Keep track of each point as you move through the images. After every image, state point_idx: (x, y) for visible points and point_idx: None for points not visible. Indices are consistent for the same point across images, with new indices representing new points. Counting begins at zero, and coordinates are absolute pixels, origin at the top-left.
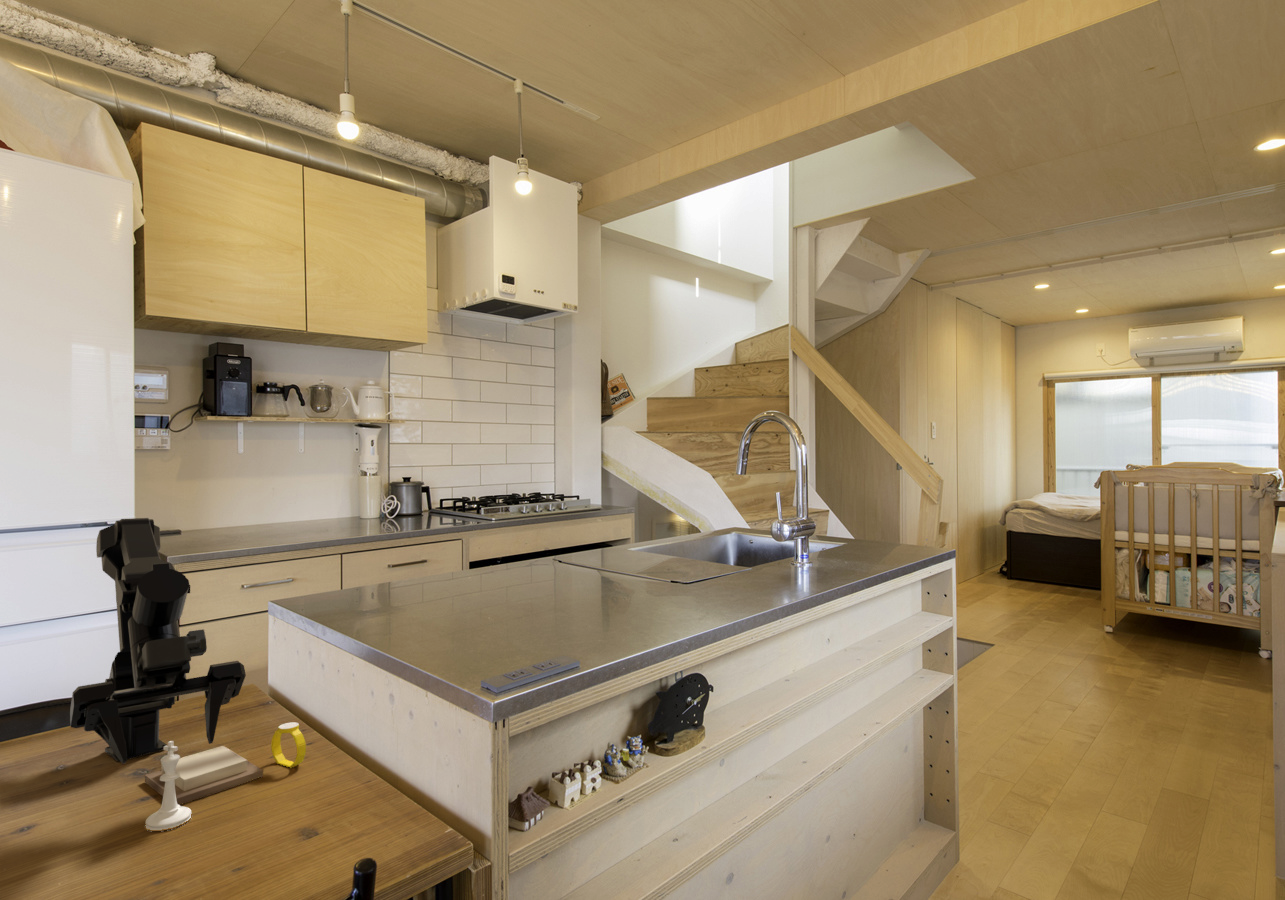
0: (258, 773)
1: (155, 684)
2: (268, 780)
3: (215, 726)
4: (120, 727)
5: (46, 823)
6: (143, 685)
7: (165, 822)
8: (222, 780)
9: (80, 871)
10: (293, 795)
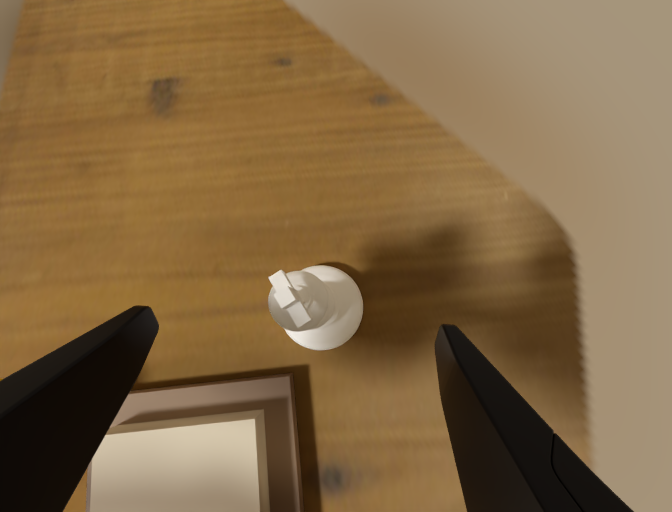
0: None
1: None
2: None
3: (81, 336)
4: (527, 467)
5: None
6: None
7: (333, 272)
8: (180, 407)
9: (476, 214)
10: (109, 249)
